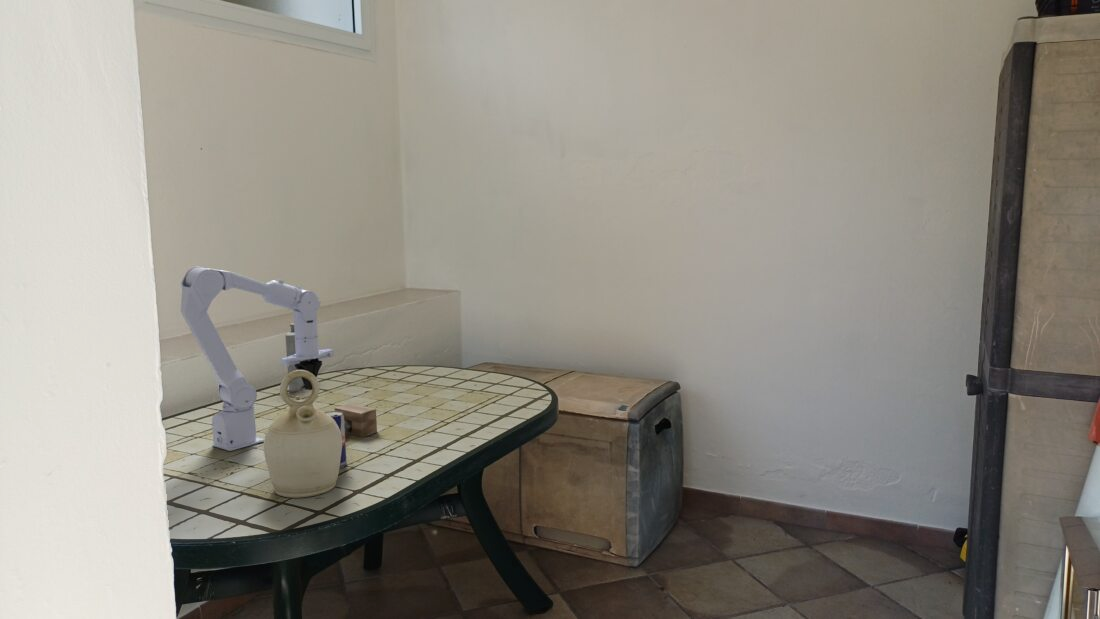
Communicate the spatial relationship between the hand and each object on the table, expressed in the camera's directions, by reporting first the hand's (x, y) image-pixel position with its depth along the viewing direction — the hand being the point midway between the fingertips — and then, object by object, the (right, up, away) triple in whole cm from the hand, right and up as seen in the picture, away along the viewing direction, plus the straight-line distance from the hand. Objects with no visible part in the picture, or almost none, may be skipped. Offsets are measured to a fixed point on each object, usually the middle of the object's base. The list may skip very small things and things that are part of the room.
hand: (309, 388), depth 213 cm
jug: (+11, -17, -41) cm, 46 cm away
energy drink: (+14, -15, -28) cm, 35 cm away
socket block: (+12, -11, -2) cm, 16 cm away
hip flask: (-17, -4, +49) cm, 53 cm away
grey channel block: (+8, -12, -8) cm, 16 cm away
